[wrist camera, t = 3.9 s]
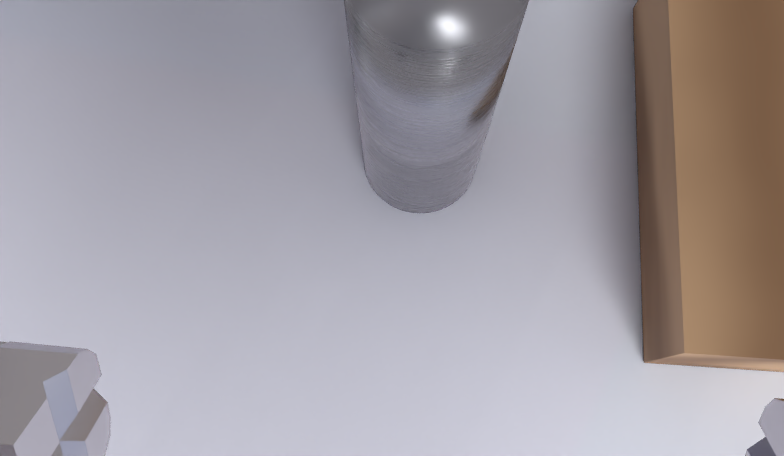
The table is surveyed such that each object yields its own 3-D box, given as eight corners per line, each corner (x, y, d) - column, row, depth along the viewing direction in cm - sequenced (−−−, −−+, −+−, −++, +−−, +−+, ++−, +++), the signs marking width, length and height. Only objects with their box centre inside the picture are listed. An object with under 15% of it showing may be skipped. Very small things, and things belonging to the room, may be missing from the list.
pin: (359, 209, 22) (331, 42, 12) (368, 105, 23) (348, -125, 13) (473, 216, 22) (534, 54, 12) (477, 112, 23) (537, -115, 13)
